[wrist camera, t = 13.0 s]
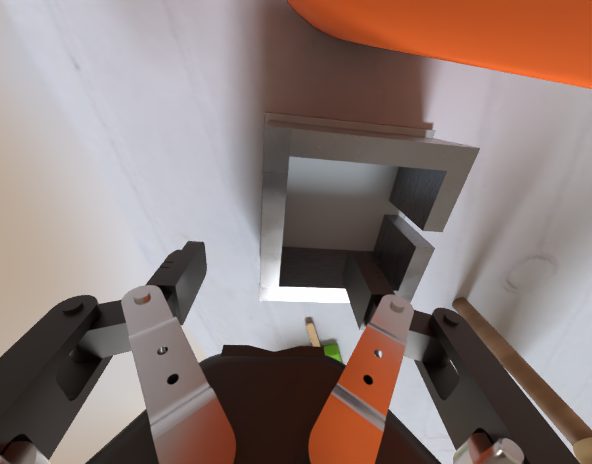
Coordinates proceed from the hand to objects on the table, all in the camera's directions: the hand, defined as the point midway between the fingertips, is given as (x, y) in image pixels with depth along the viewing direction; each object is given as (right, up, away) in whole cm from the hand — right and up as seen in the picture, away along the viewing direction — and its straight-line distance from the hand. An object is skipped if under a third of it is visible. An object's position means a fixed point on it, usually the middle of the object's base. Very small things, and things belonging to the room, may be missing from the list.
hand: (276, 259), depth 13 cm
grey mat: (+5, +4, +9) cm, 11 cm away
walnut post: (+22, -8, +17) cm, 29 cm away
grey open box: (+5, +4, +9) cm, 11 cm away
